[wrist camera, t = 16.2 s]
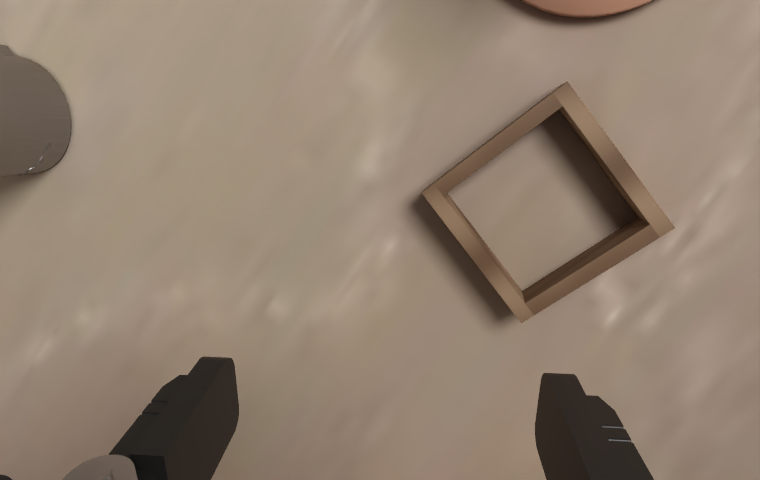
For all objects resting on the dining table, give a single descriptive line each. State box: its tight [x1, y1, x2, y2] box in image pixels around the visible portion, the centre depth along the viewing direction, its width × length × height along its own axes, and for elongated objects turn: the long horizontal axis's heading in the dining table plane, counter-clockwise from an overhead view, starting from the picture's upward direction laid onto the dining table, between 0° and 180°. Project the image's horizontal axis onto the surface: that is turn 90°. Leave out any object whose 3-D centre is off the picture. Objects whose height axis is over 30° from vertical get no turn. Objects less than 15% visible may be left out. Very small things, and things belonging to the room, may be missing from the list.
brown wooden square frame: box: [422, 82, 675, 323], centre depth 33 cm, size 11×11×2 cm
